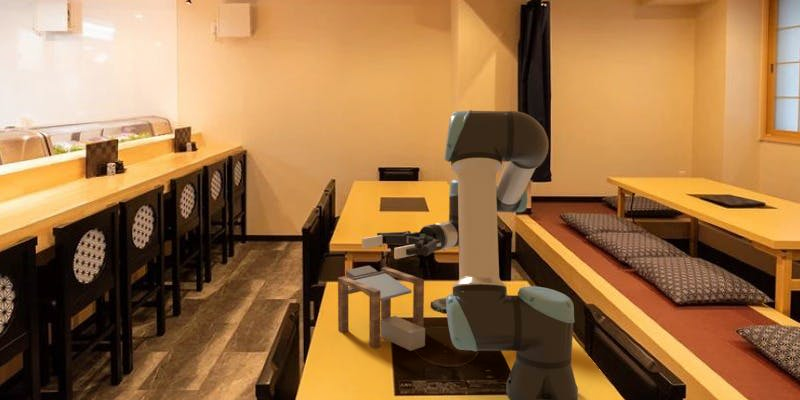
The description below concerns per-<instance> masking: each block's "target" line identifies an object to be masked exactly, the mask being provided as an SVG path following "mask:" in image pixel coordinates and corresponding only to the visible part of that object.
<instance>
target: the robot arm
mask: <svg viewBox="0 0 800 400" xmlns="http://www.w3.org/2000/svg"><path fill="white" fill-rule="evenodd" d="M447 128H448V129H447V136H446V143H445V151H444V161H446V162H448V163H450V169H451V171H452V172H453V173H455V175H457V178H454V179H452V180H451V181H450V183H449V194H448V196H449V197H448V200H449V201H448V214H449V215H448V221H444V222H438V223H434V224H428V225H424V226H422V228H421V229H420V230H419V231H414V232H411V231H410V230H407V231H396V232H394V231H393V232H377V233H376V234H377V235H375V236H369V237H368V236H367V237H362V238H361V249H369V248H374V247H382V246H383V245H403V246H399V247H397V246H396V247H394V248H393V249H394V250H393V258H394V259H395V260H399V259H402V258H407V257H412V256H415V255H417V256H421V255H422V256H423V257H428V256H429V255H431V254H433V253H434V252H437V251H438V252H439V251H441V250H442V251H447V249H450V248H451V249H452V248H456V247H458V258H459V259H458V265H459V267H458V268H459V269H458V271H459V275H458V276H459V279H458V281H456V282H455V283H454V284H453V286H452V293H449V294H447V296H446V297H445V298H446V308H447V309H446V310H447V314H446V318H447V326H448V330H449V336H450V340H451V343H452V345H453V347H454V348H456V349H457V350H460V351H461V350H463V351H473V352H477V351H480V352H483V351H485V352H487V351H488V352H489V351H490V352H492V351H493V352H497V351H498V352H501V351H502V352H515V360H514V362H513V365H512V368H511V370H510V372H509V375H508V378H507V380H506V390H505V391H506V396H507V397H508V399H510V400H578V399H579V395H578V394H579V389H578V388H579V387H578V385H577V383H576V379H575V374H574V370H573V367H572V355H573V354H572V352H573V339H574V338H573V333H574V323H575V311H574V310H575V308H574V303H573V301H572V299H571V298H570V297H569V296H568V295H566V294H564V293H563V292H560V291H557V290H555V289H551V288H548V287H541V286H535V285H527V286H522V287H520V288H519V289H518V291H517V295H516V294H515V295H514V294H513V295H508V291H507V290H508V289H507V288H508V287H507V285H506V284H505V283H504V282H503V281H502V280H501V278H500V266H499V265H500V264H499V237H498V233H499V232H498V231H499V230H498V213H511V214H513V213H523V212H525V211H527V206H528V192H527V191H528V190H527V186H528V185H529V183H530V180H531V178H532V176H533V174H534V173H535V171H536V168H538V167H540V166H541V165H542V164H543V163H544V161H545V159H546V157H547V155H548V154H549V153H548V152H549V139H548V138H549V137H548V135H547V132H546V130H545V128H544V127H543V126H542V124H540V123H539V121H537V119H535V118H534V117H533V116H531V115H529V114H527V113H525V112H521V111H517V110H516V111H514V110H510V111H505V110H504V111H503V110H502V111H499V110H498V111H497V110H494V111H493V110H492V111H491V110H472V109H470V110H461V111H459V110H458V111H454V112H453V113H452V114H451V115H450V117H449V122H448V127H447ZM504 162H505V163H504ZM503 163H504V165H503ZM500 170H502V171H501V174H500V177H499V180H498V183H497V179H496V177H497V174H498V173H499V172H500Z"/></svg>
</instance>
